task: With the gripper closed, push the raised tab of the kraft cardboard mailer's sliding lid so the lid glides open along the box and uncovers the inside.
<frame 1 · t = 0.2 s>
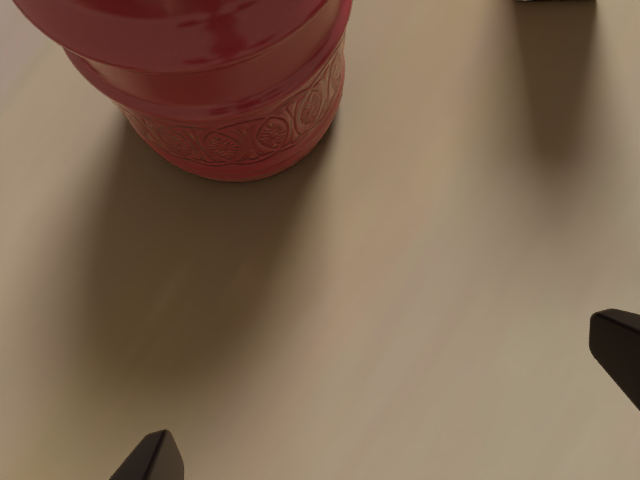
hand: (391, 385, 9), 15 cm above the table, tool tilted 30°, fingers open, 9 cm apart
canister: (239, 90, 26), on the table
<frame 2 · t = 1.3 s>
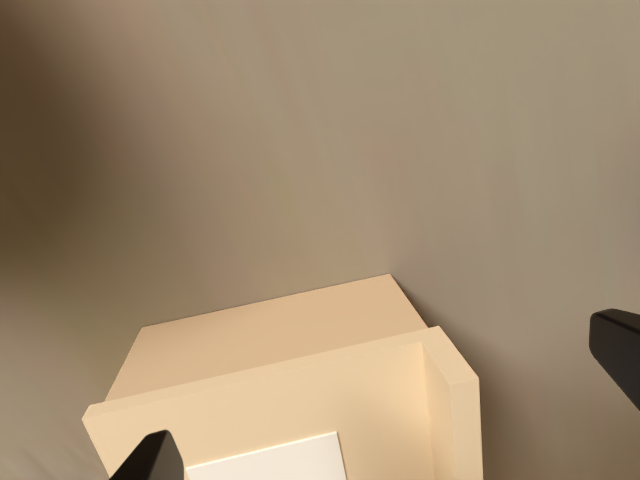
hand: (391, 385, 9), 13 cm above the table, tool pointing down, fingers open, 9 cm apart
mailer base: (287, 377, 23), on the table
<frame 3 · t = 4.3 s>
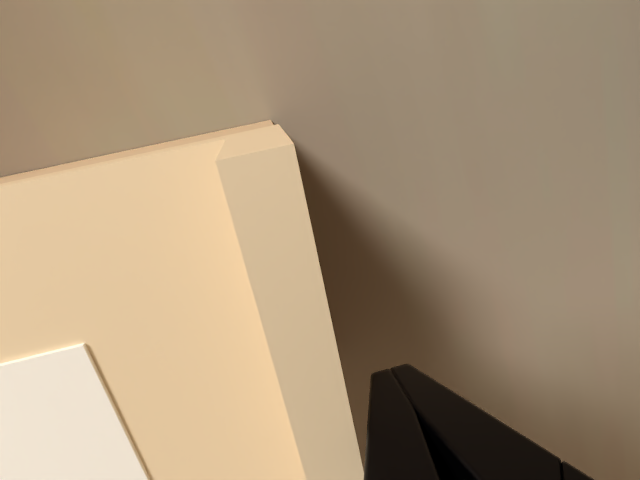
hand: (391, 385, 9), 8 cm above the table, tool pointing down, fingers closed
lid: (4, 479, 8), point 7 cm above the table, slide at 0.3 cm, touching gripper
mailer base: (126, 298, 15), on the table
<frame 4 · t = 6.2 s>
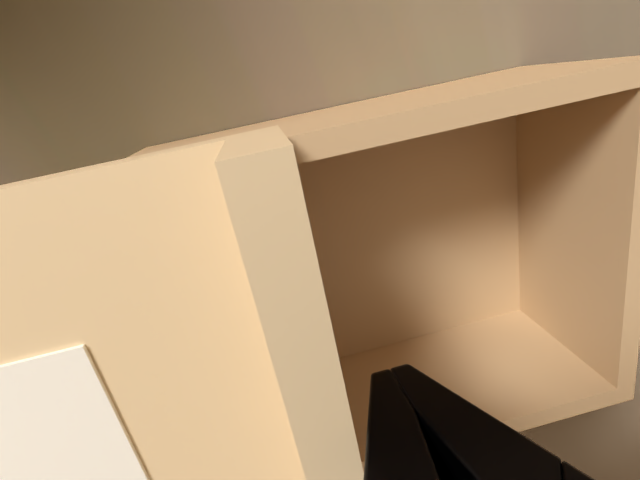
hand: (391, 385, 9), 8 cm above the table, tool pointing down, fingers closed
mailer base: (363, 241, 16), on the table
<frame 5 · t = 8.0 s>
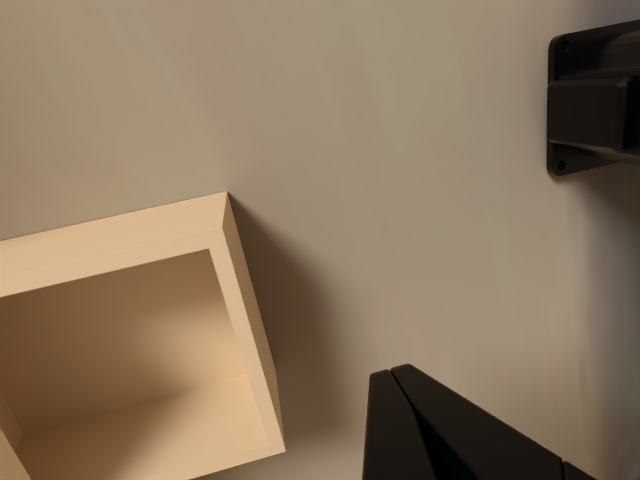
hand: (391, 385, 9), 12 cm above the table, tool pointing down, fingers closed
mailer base: (119, 321, 20), on the table
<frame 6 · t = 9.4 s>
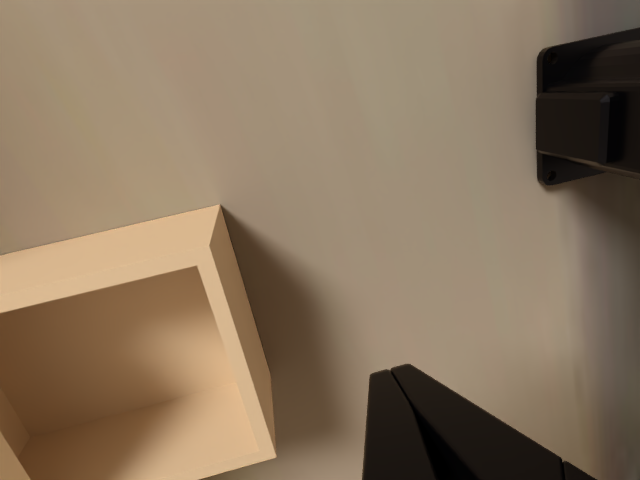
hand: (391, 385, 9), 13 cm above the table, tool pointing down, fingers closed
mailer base: (118, 329, 21), on the table
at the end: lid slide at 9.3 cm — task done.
